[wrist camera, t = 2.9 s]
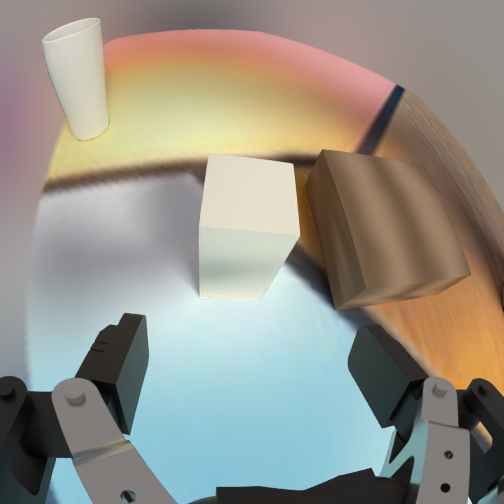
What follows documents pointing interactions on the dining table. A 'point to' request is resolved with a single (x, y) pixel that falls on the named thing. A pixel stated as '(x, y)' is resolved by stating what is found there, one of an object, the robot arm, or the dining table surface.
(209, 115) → the dining table surface
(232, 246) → the offwhite block
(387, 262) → the walnut box
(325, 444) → the dining table surface
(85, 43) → the drinking glass
